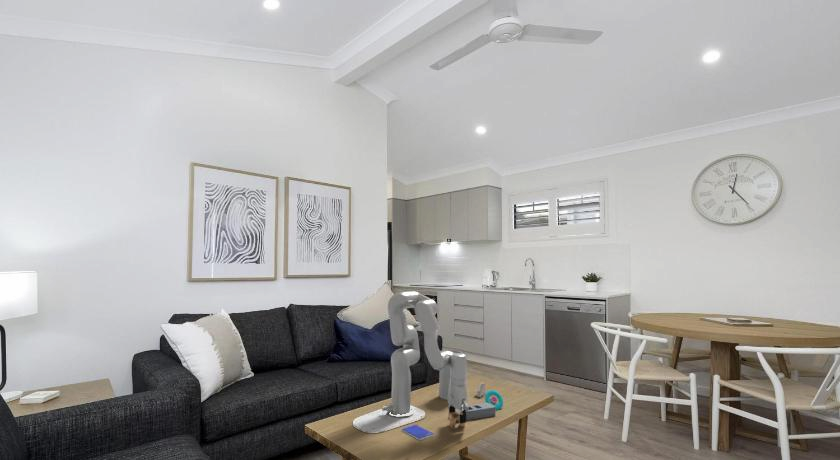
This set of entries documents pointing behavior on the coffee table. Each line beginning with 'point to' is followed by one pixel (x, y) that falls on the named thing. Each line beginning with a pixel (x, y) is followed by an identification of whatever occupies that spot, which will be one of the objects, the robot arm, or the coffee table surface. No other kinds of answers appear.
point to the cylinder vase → (445, 379)
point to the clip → (453, 417)
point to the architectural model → (481, 390)
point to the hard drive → (418, 432)
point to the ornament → (494, 399)
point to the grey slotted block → (479, 411)
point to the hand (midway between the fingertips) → (457, 419)
